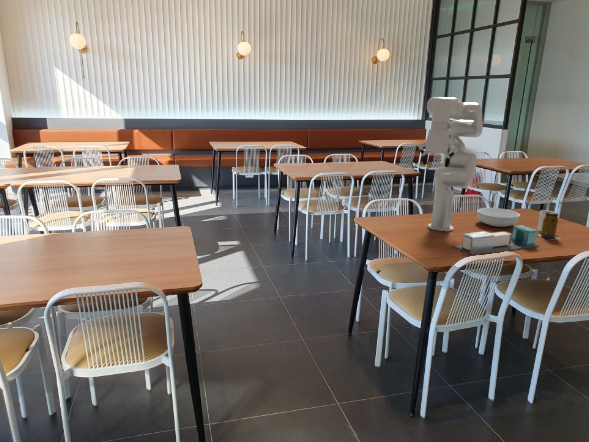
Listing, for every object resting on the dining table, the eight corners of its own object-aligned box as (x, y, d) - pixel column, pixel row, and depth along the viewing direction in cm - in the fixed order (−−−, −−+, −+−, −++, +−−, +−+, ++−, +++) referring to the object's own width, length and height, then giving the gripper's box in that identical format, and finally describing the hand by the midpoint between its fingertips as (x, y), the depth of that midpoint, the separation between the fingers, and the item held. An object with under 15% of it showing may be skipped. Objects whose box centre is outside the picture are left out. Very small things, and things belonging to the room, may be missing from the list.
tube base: (472, 255, 185) (474, 239, 183) (453, 246, 196) (455, 231, 194) (539, 246, 199) (542, 231, 197) (517, 238, 210) (520, 223, 208)
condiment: (546, 234, 218) (551, 211, 215) (562, 239, 211) (566, 215, 208) (536, 235, 216) (540, 212, 213) (551, 240, 208) (555, 216, 205)
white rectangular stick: (468, 250, 189) (470, 239, 188) (462, 247, 193) (463, 236, 191) (510, 244, 198) (512, 234, 196) (503, 241, 201) (505, 231, 200)
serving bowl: (480, 217, 247) (482, 205, 246) (521, 224, 236) (523, 211, 234) (470, 225, 231) (472, 212, 229) (513, 232, 219) (516, 219, 218)
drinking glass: (550, 233, 220) (554, 214, 217) (535, 230, 223) (539, 212, 221) (552, 230, 225) (555, 211, 222) (537, 228, 229) (541, 209, 226)
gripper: (462, 127, 189) (457, 166, 194) (423, 125, 199) (420, 162, 203) (457, 128, 183) (452, 168, 188) (417, 126, 193) (414, 164, 198)
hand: (435, 165), depth 196 cm, fingers open, 9 cm apart
